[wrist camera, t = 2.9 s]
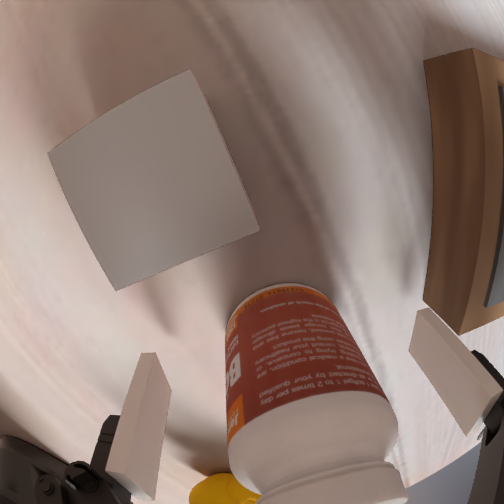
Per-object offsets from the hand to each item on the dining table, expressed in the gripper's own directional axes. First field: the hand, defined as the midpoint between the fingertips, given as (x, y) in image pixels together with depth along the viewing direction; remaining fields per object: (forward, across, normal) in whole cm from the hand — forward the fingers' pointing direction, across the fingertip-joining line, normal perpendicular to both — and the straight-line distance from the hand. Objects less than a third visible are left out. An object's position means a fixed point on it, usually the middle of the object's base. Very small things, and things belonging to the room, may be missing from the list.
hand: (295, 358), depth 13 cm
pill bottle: (+3, 0, 0) cm, 3 cm away
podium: (+3, +16, +7) cm, 17 cm away
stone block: (+3, -4, +9) cm, 10 cm away
